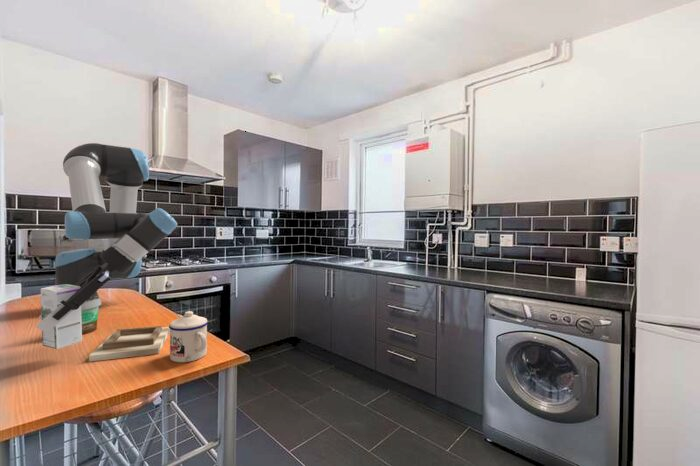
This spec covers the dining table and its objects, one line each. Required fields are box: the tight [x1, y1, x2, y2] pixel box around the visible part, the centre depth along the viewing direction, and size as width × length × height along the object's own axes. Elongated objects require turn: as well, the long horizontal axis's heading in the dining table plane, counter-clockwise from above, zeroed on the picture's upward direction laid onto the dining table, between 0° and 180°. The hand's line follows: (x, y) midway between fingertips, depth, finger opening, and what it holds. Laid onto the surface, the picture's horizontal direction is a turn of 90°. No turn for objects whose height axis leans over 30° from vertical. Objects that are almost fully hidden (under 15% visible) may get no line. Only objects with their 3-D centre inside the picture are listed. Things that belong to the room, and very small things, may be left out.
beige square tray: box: [88, 325, 170, 362], centre depth 90 cm, size 18×15×3 cm
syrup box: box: [40, 284, 83, 350], centre depth 79 cm, size 6×6×14 cm
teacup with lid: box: [168, 310, 209, 363], centre depth 83 cm, size 12×9×12 cm
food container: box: [81, 296, 102, 336], centre depth 99 cm, size 12×6×10 cm, turn 168°
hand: (43, 324), depth 77 cm, fingers closed on syrup box, 8 cm apart
